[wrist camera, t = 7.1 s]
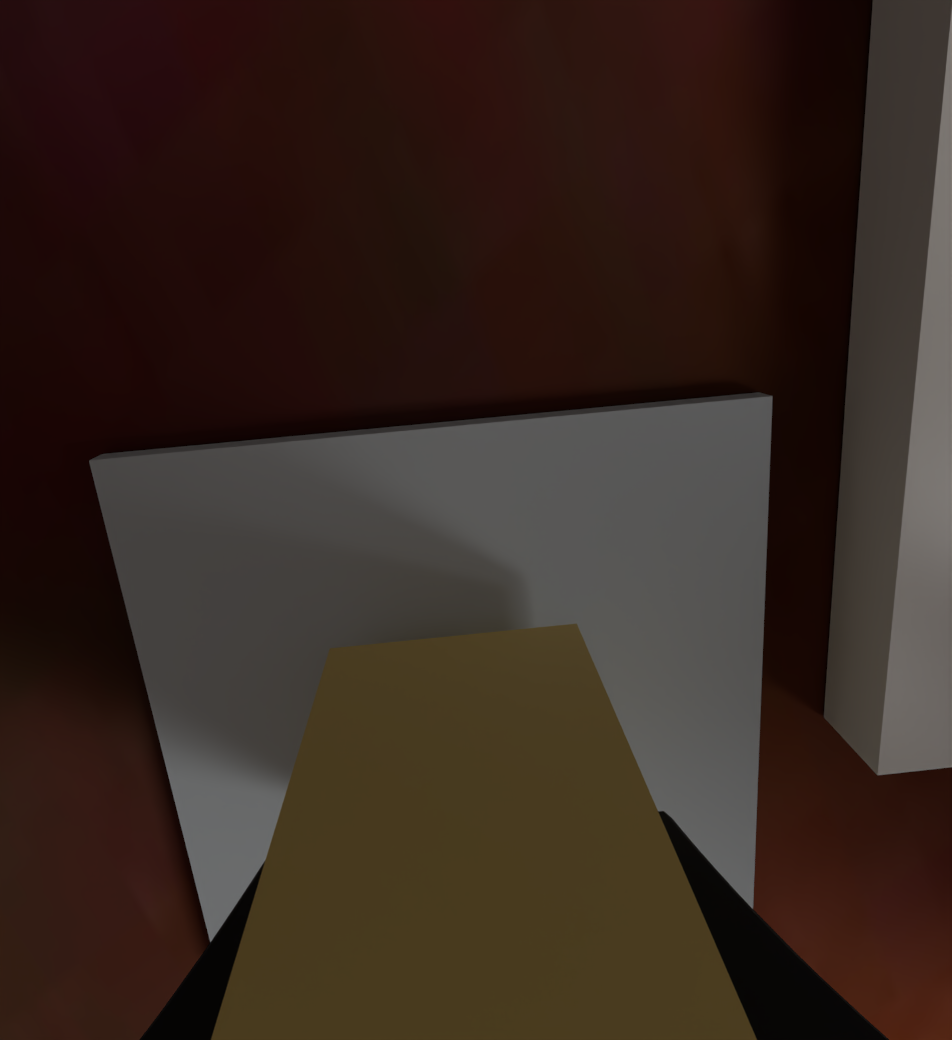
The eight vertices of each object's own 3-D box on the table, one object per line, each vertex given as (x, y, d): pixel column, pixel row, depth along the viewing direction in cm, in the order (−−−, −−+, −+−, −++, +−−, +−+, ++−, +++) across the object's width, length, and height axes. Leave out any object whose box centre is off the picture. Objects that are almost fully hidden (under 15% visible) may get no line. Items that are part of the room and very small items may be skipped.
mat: (759, 392, 12) (772, 396, 12) (742, 906, 15) (752, 925, 15) (102, 453, 12) (88, 460, 11) (228, 964, 15) (221, 985, 15)
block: (576, 623, 12) (765, 1061, 5) (586, 826, 13) (748, 1399, 6) (329, 648, 12) (184, 1130, 5) (362, 850, 13) (280, 1463, 6)
